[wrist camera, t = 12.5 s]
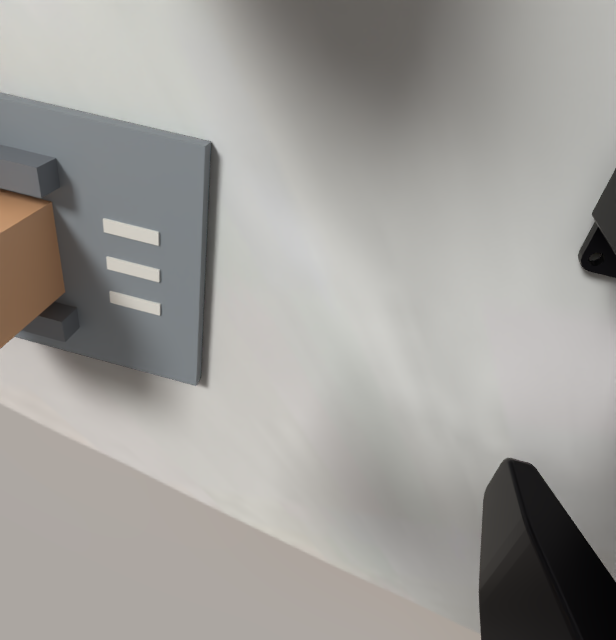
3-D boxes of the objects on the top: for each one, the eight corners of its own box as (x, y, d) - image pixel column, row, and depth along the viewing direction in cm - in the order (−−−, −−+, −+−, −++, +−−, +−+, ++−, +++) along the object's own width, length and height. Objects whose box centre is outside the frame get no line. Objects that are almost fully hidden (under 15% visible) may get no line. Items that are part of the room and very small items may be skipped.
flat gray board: (211, 141, 19) (172, 171, 16) (200, 378, 26) (172, 427, 23) (-133, 61, 20) (-225, 76, 17) (-52, 310, 27) (-108, 349, 24)
